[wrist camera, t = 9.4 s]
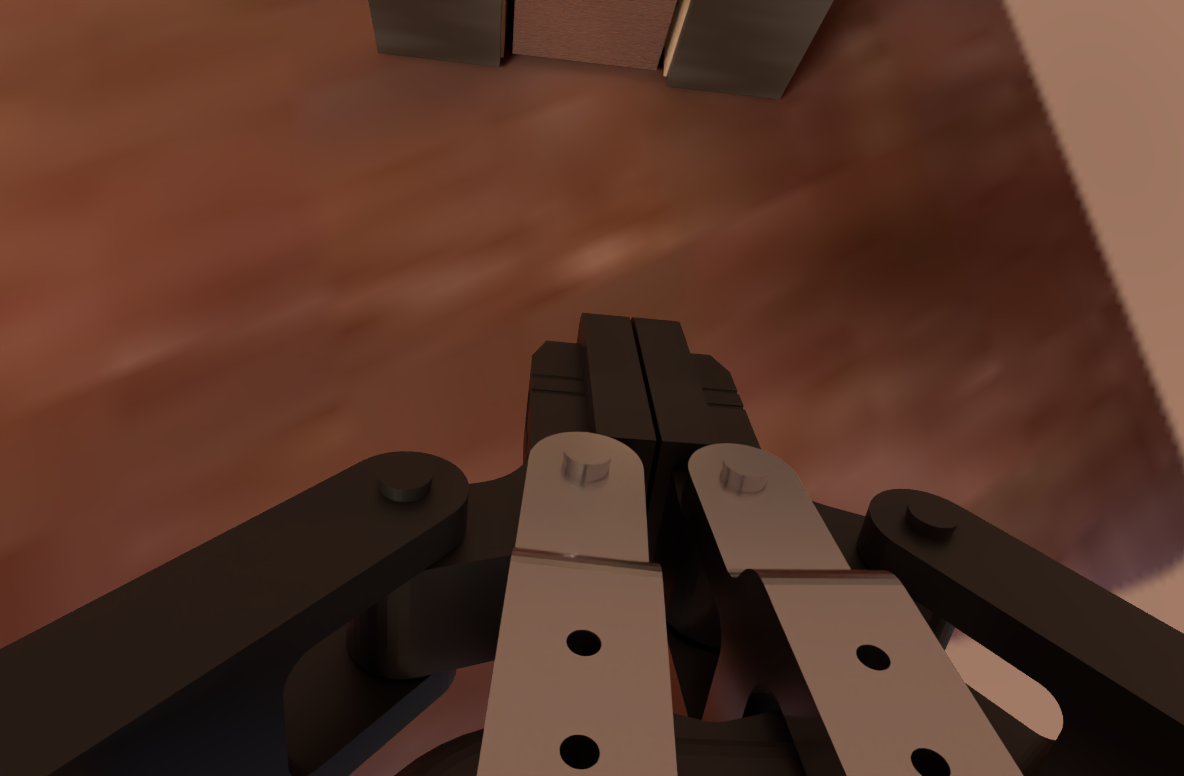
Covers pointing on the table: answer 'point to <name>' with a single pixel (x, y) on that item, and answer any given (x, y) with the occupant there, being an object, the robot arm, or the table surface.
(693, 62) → the socket block
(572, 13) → the peg
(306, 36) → the table surface
